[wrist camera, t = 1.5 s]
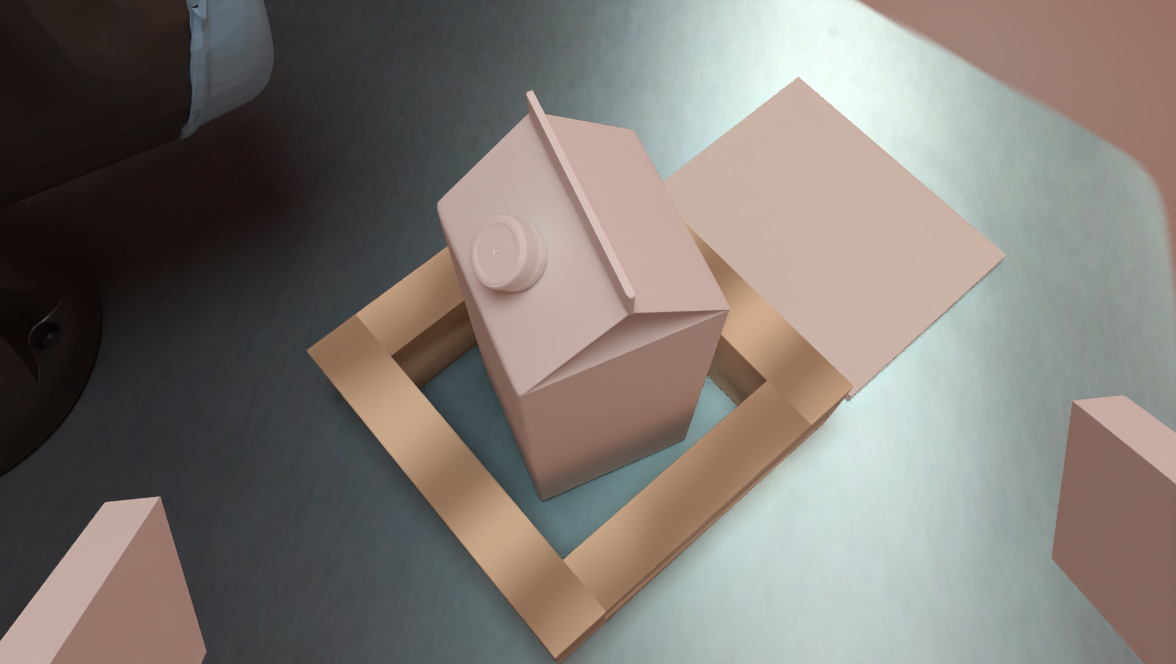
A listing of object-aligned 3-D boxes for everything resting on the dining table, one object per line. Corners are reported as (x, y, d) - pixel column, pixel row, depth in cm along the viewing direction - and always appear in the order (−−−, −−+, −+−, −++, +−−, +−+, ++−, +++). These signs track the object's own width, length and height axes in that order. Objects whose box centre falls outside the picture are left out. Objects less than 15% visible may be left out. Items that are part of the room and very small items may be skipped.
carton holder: (336, 389, 43) (306, 350, 39) (595, 192, 47) (596, 136, 43) (559, 664, 39) (554, 658, 34) (825, 421, 43) (853, 386, 38)
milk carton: (620, 309, 45) (641, 49, 27) (685, 440, 42) (753, 248, 25) (483, 365, 44) (411, 132, 26) (541, 503, 41) (505, 348, 24)
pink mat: (643, 201, 47) (644, 195, 46) (796, 83, 50) (798, 76, 49) (847, 401, 43) (851, 397, 42) (1001, 261, 46) (1006, 255, 45)
